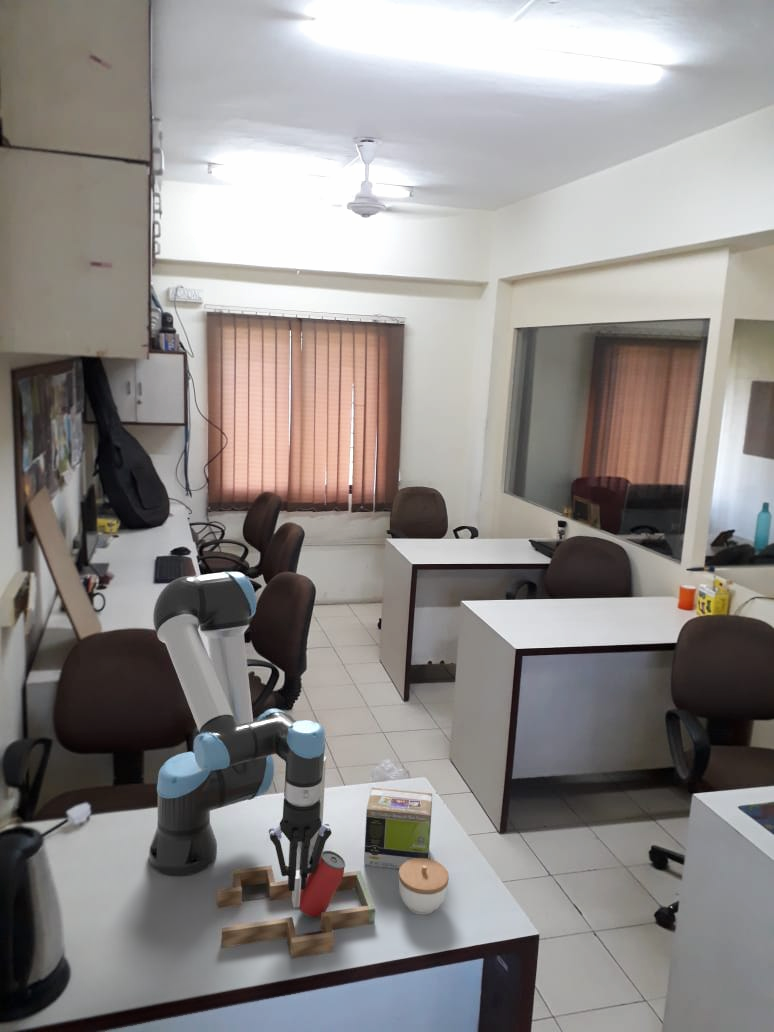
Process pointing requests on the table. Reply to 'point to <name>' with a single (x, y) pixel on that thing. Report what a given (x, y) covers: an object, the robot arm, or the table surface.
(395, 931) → the table surface
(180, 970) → the table surface
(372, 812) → the tea box
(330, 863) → the beer can
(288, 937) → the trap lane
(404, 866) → the lidded jar
